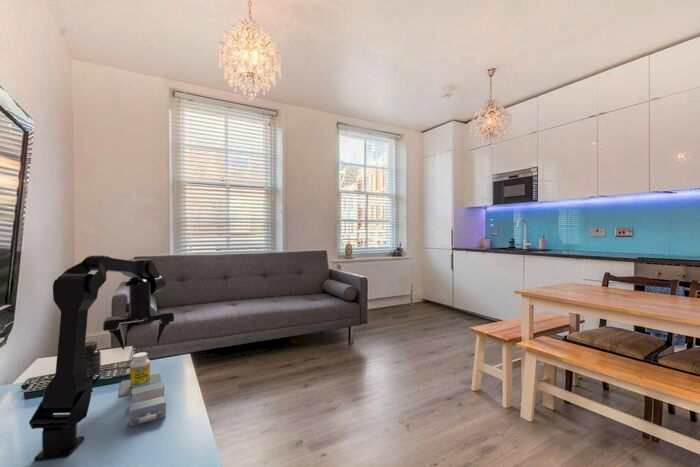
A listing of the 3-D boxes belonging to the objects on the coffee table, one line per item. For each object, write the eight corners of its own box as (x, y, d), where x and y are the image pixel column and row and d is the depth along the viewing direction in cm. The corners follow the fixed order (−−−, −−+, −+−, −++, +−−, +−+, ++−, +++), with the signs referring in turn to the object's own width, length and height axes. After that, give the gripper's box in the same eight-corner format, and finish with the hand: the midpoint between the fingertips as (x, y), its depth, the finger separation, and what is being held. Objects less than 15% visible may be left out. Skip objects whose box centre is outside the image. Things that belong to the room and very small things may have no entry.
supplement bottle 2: (148, 378, 108) (147, 350, 108) (152, 384, 104) (151, 354, 104) (128, 383, 104) (128, 354, 104) (132, 389, 100) (132, 359, 100)
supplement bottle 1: (69, 382, 106) (69, 346, 105) (91, 373, 112) (91, 339, 112) (84, 385, 104) (84, 348, 103) (105, 376, 110) (105, 341, 110)
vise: (166, 422, 84) (166, 407, 84) (129, 432, 80) (128, 416, 80) (163, 394, 98) (163, 381, 98) (132, 402, 94) (131, 388, 94)
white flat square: (161, 387, 102) (161, 386, 102) (118, 397, 96) (118, 395, 96) (160, 374, 112) (160, 373, 112) (121, 382, 106) (121, 381, 106)
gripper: (171, 290, 115) (172, 333, 116) (106, 296, 106) (107, 343, 106) (173, 296, 106) (174, 343, 106) (102, 303, 96) (103, 355, 96)
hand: (140, 346), depth 104 cm, fingers open, 9 cm apart
